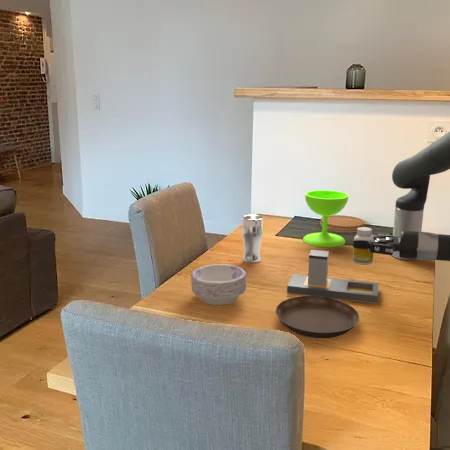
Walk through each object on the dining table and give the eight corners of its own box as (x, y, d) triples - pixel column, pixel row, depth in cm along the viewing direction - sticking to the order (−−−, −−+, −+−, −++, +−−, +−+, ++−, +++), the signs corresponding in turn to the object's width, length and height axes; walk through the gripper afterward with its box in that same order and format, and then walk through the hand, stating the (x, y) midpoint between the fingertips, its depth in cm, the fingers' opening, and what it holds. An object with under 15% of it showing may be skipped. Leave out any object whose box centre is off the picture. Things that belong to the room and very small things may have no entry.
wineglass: (349, 247, 193) (352, 199, 188) (305, 246, 193) (308, 199, 188) (340, 234, 208) (343, 190, 203) (300, 234, 208) (302, 190, 203)
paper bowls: (184, 293, 150) (183, 267, 148) (232, 285, 156) (232, 260, 154) (202, 314, 137) (202, 286, 135) (255, 305, 143) (255, 277, 140)
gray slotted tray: (292, 280, 160) (294, 245, 157) (377, 290, 153) (381, 253, 150) (287, 292, 151) (288, 255, 148) (377, 303, 144) (380, 264, 141)
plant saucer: (361, 347, 121) (362, 334, 120) (271, 339, 124) (272, 326, 123) (355, 310, 140) (356, 298, 140) (278, 304, 144) (279, 292, 143)
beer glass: (238, 261, 177) (239, 218, 173) (245, 255, 183) (246, 213, 179) (258, 264, 174) (259, 220, 170) (264, 258, 180) (266, 215, 176)
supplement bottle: (373, 265, 144) (375, 231, 142) (353, 264, 145) (355, 230, 143) (371, 259, 149) (374, 226, 147) (352, 258, 150) (354, 225, 148)
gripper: (418, 225, 147) (356, 221, 152) (421, 239, 134) (353, 234, 139) (415, 251, 149) (354, 246, 154) (418, 267, 136) (351, 261, 141)
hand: (354, 240), depth 146 cm, fingers closed on supplement bottle, 5 cm apart
